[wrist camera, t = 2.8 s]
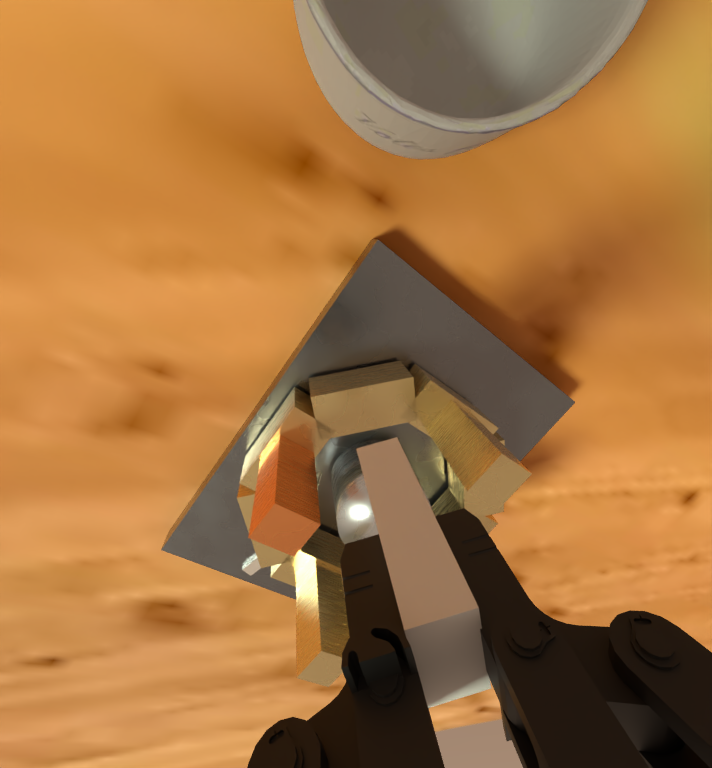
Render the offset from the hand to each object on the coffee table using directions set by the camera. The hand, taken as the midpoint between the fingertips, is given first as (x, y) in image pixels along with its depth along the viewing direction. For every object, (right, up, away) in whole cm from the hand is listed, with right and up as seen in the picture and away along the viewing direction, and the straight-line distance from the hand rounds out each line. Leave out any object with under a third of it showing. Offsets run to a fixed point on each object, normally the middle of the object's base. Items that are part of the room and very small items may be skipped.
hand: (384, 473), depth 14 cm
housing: (0, -2, +11) cm, 11 cm away
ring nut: (0, -3, +9) cm, 10 cm away
